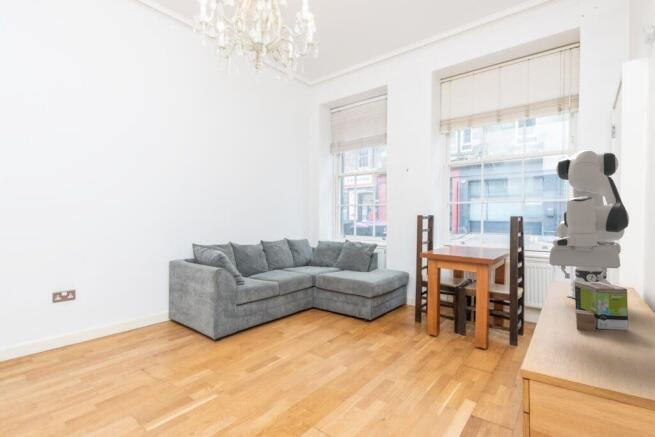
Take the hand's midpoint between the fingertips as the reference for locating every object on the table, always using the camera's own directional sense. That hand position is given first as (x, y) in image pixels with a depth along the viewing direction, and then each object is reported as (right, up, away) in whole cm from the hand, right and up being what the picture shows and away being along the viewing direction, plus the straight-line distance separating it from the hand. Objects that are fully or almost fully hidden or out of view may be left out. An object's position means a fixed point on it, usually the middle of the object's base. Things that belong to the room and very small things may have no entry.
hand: (583, 279), depth 118 cm
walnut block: (+1, -18, 0) cm, 18 cm away
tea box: (+10, -18, +5) cm, 21 cm away
